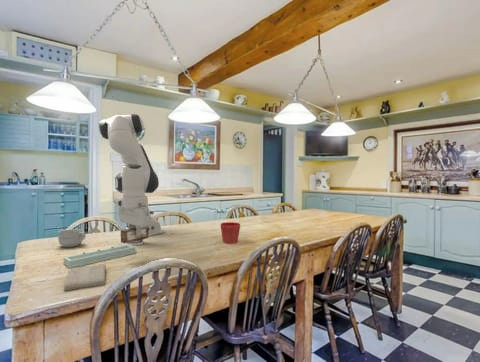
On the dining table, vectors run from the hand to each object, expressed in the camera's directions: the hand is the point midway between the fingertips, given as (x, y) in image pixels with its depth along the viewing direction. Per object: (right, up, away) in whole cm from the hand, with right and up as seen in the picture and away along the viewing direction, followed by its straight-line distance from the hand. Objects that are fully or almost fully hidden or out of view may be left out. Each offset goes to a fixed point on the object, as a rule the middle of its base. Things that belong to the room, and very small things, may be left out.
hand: (135, 234), depth 117 cm
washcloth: (-9, -12, -21) cm, 26 cm away
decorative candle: (-10, -10, +26) cm, 30 cm away
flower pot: (+40, -10, +30) cm, 51 cm away
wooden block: (0, -2, 0) cm, 2 cm away
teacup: (-39, -10, +21) cm, 46 cm away
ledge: (-15, -10, +2) cm, 18 cm away
